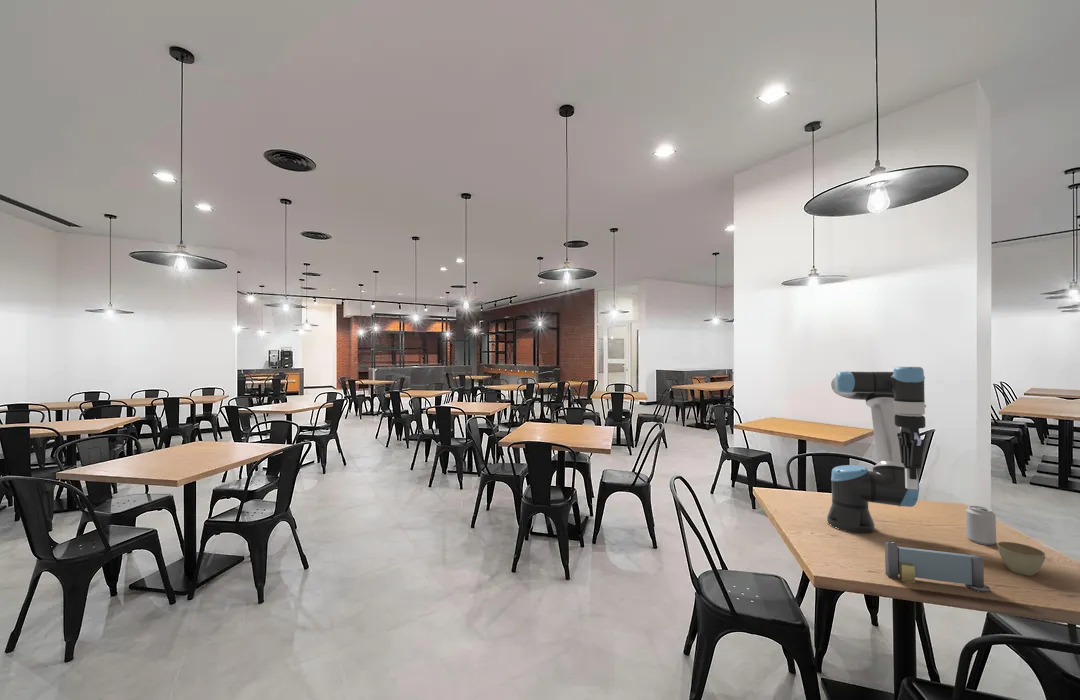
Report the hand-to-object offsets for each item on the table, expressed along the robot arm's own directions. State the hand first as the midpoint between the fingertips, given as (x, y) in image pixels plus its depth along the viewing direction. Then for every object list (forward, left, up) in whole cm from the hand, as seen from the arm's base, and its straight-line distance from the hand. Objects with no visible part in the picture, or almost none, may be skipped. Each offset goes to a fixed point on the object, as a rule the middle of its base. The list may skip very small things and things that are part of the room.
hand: (911, 488), depth 138 cm
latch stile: (-3, -13, -24) cm, 28 cm away
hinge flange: (+14, -6, -24) cm, 29 cm away
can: (+18, +39, -25) cm, 49 cm away
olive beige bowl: (+25, +16, -25) cm, 39 cm away
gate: (+6, -9, -23) cm, 26 cm away
